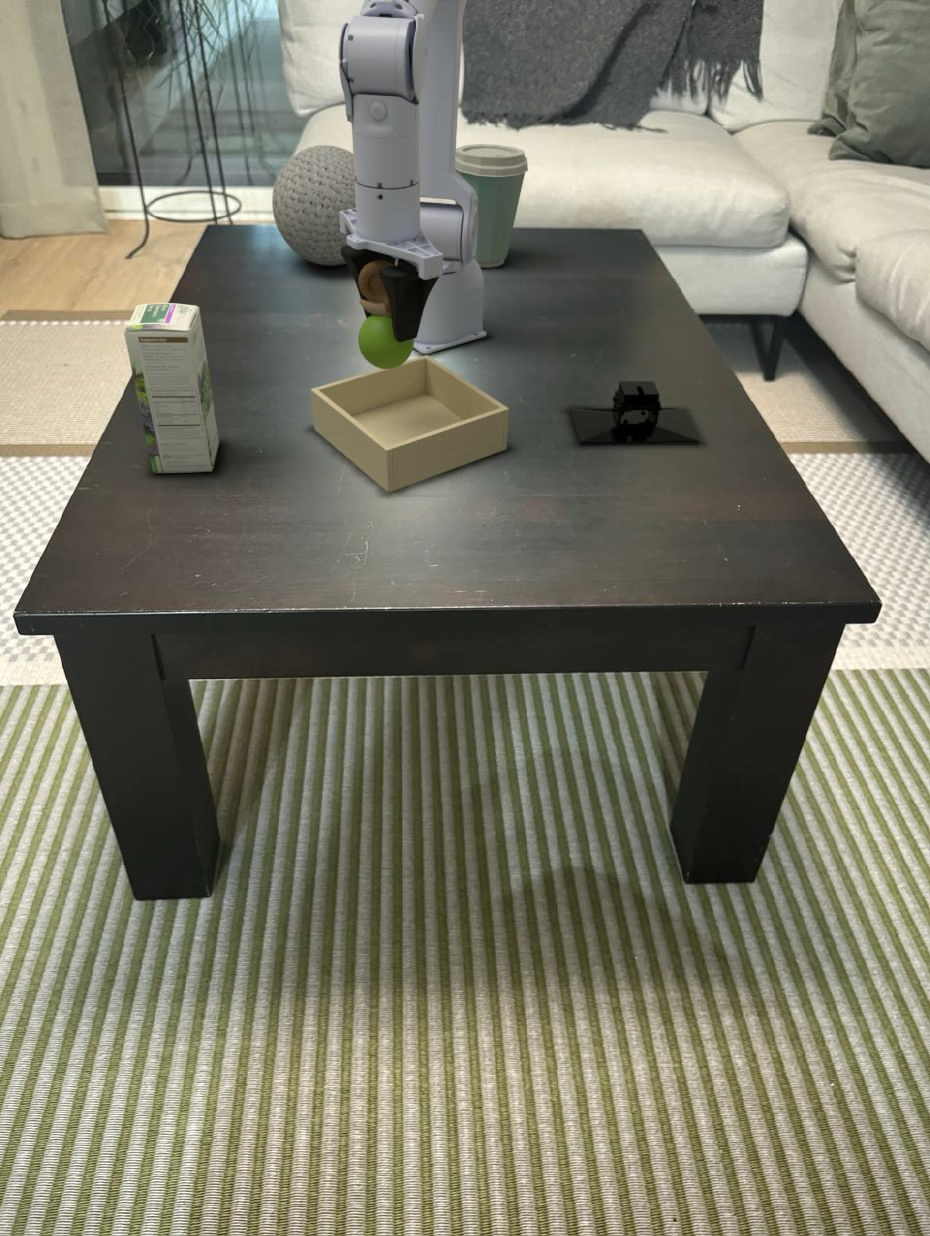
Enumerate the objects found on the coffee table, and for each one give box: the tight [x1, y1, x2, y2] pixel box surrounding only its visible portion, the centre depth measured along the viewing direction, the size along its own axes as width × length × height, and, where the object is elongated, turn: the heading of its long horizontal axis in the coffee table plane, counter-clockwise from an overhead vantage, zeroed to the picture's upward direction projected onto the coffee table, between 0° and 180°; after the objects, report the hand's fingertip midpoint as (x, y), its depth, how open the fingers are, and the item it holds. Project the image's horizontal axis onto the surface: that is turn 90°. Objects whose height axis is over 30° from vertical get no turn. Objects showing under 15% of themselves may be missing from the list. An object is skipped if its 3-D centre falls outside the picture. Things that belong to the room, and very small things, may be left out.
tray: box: [310, 354, 510, 493], centre depth 92 cm, size 14×14×5 cm
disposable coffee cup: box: [454, 143, 529, 268], centre depth 127 cm, size 11×11×15 cm
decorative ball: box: [271, 144, 356, 267], centre depth 125 cm, size 15×15×15 cm
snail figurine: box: [357, 260, 414, 369], centre depth 87 cm, size 5×6×12 cm
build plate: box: [569, 380, 700, 446], centre depth 95 cm, size 12×7×5 cm, turn 93°
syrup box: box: [123, 302, 220, 474], centre depth 85 cm, size 6×6×14 cm
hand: (391, 329), depth 89 cm, fingers closed on snail figurine, 4 cm apart
